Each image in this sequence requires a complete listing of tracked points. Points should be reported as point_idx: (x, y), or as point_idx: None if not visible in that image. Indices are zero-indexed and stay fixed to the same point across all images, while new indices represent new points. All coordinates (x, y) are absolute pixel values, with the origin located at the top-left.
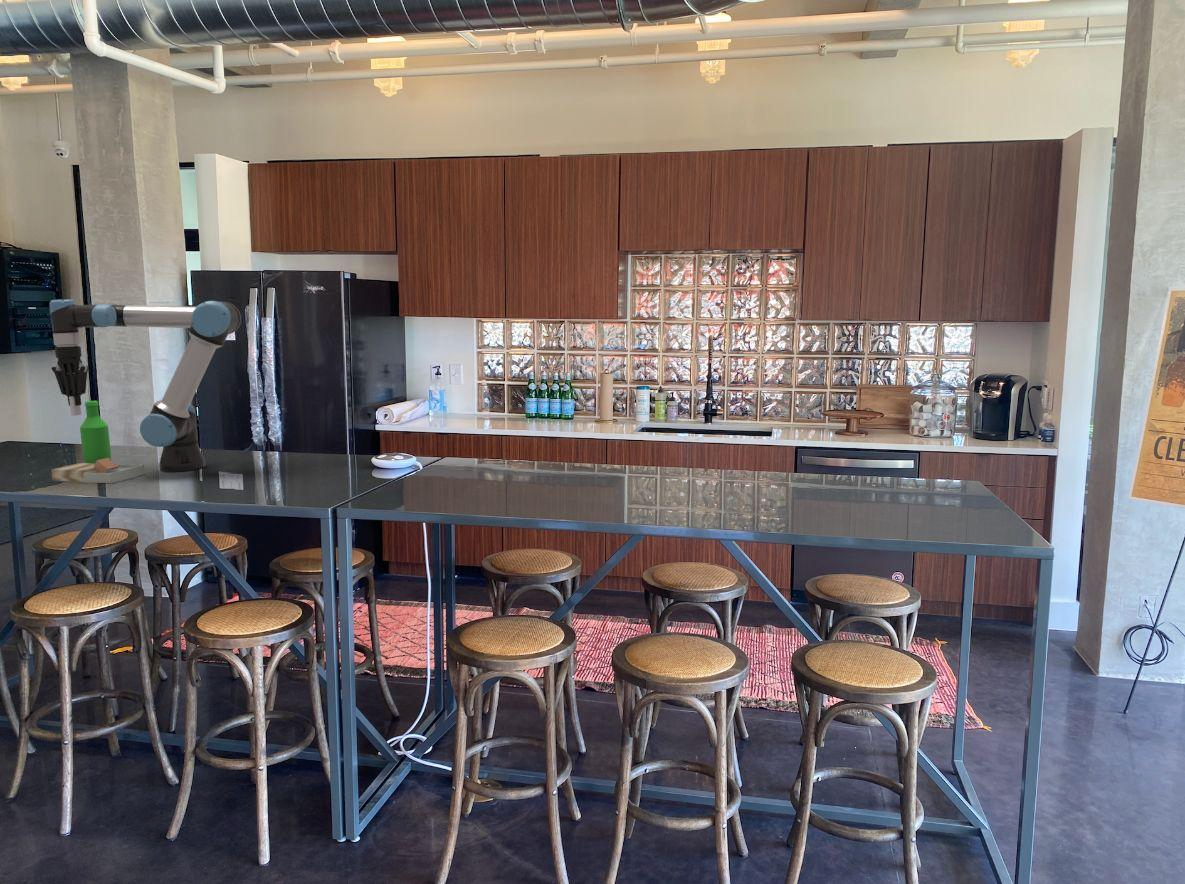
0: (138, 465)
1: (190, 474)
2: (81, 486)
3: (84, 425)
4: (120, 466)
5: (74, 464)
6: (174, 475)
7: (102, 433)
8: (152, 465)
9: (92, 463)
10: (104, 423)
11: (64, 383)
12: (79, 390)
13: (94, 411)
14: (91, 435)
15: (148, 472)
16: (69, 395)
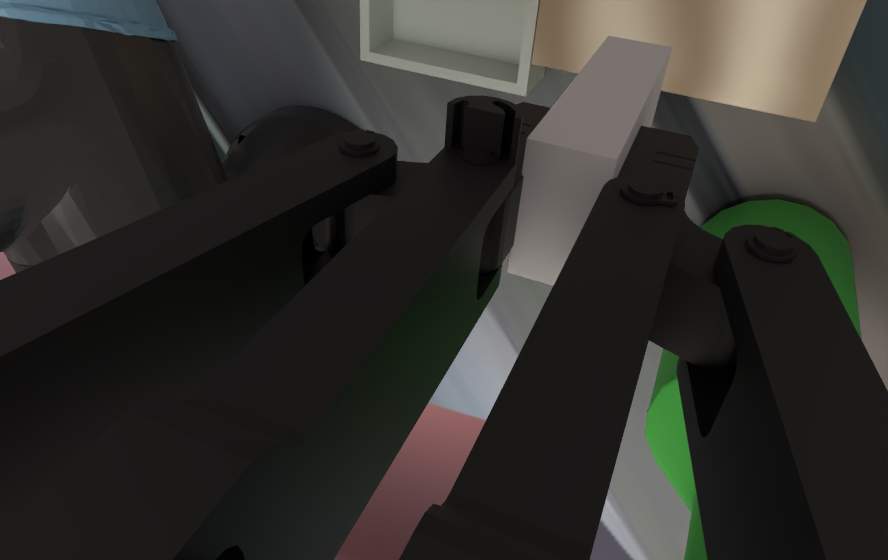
0: (386, 55)
1: (189, 35)
2: None
3: None
4: (506, 77)
5: (823, 65)
6: (237, 13)
7: (667, 362)
8: (506, 296)
9: (691, 95)
10: (656, 450)
11: (731, 488)
12: (309, 157)
13: (701, 526)
14: None
15: (410, 110)
16: (611, 189)
